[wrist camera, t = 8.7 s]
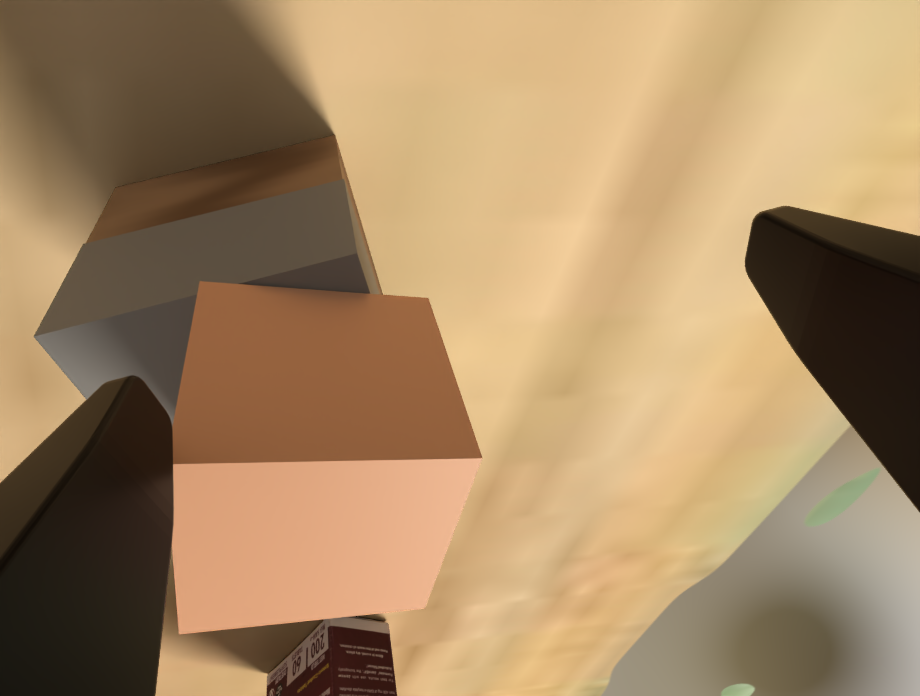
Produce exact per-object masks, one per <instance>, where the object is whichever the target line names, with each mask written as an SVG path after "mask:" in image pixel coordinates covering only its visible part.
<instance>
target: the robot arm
mask: <svg viewBox="0 0 920 696" xmlns="http://www.w3.org/2000/svg"><path fill="white" fill-rule="evenodd" d="M745 268H746V272H747V275H748V277H749V279H750V280H751V282H752V284H753V285H754V287H755V289H756V290H757V292H758V293H759V295H760V297H761V298H762V300H763V302H764V303H765V305H766V307H767V308H768V310H769V311H770V313H771V315H772V316H773V318H774V320H775V321H776V323H777V325H778V326H779V328H780V329H781V331H782V333H783V334H784V336H785V338H786V339H787V341H788V342H789V344H790V345H791V347H792V348H793V350H794V352H795V353H796V354H797V356H798V357H799V359H800V360H801V361H802V363H803V364H804V365H805V367H806V368H807V369H808V371H809V372H810V373H811V374H812V376H813V377H814V378H815V379H816V381H817V382H818V383H819V385H820V386H821V387H822V388H823V390H824V391H825V392H826V394H827V395H828V396H829V397H830V399H831V400H832V401H833V402H834V404H835V405H836V406H837V408H838V409H839V410H840V411H841V413H842V414H843V415H844V416H845V418H846V419H847V420H848V422H849V423H850V424H851V425H852V427H853V428H854V429H855V431H856V432H857V433H858V434H859V436H860V437H861V438H862V439H863V441H864V442H865V443H866V445H867V446H868V447H869V448H870V450H871V451H872V452H873V453H874V455H875V456H876V457H877V459H878V460H879V461H880V462H881V464H882V465H883V466H884V468H885V469H886V470H887V471H888V473H889V474H890V475H891V476H892V478H893V479H894V480H895V482H896V483H897V484H898V485H899V487H900V488H901V489H902V491H903V492H904V493H905V494H906V496H907V497H908V498H909V499H910V501H911V502H912V503H913V505H914V506H915V507H916V508H917V510H918V511H919V512H920V236H917V235H913V234H909V233H904V232H900V231H896V230H891V229H887V228H882V227H878V226H874V225H869V224H865V223H861V222H856V221H852V220H847V219H843V218H839V217H834V216H830V215H826V214H821V213H817V212H813V211H808V210H804V209H799V208H795V207H791V206H781V207H777V208H773V209H769V210H766V211H762V212H760V213H758V214H757V215H756V216H755V218H754V219H753V222H752V226H751V231H750V236H749V241H748V247H747V252H746V257H745ZM173 525H174V481H173V428H172V422H171V419H170V417H169V415H168V413H167V411H166V410H165V409H164V407H163V406H162V405H161V403H160V402H159V401H158V399H157V398H156V396H155V395H154V394H153V392H152V391H151V390H150V388H149V387H148V386H147V384H146V383H145V382H144V381H143V380H142V379H141V378H140V377H138V376H134V375H130V376H127V377H123V378H119V379H115V380H111V381H108V382H106V383H104V384H102V385H101V386H100V387H99V388H98V389H97V390H96V391H95V392H94V393H93V394H92V395H91V396H90V397H89V398H88V399H87V400H86V401H85V402H84V403H83V404H82V405H81V406H80V407H78V408H77V409H76V410H75V411H74V412H73V413H72V414H71V415H70V416H69V417H68V418H67V419H66V420H65V421H64V422H63V423H62V424H61V425H60V426H59V427H58V428H57V429H56V430H55V431H54V432H53V433H52V434H51V435H50V436H48V437H47V438H46V439H45V440H44V441H43V442H42V443H41V444H40V445H39V446H38V447H37V448H36V449H35V450H34V451H33V452H32V453H31V454H30V455H29V456H28V457H27V458H26V459H25V460H24V461H23V462H22V463H21V464H20V465H18V466H17V467H16V468H15V469H14V470H13V471H12V472H11V473H10V474H9V475H8V476H7V477H6V478H5V479H4V480H3V481H2V482H1V483H0V696H155V693H156V684H157V675H158V666H159V657H160V648H161V638H162V629H163V620H164V611H165V602H166V593H167V584H168V574H169V565H170V556H171V547H172V537H173Z"/></svg>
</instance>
